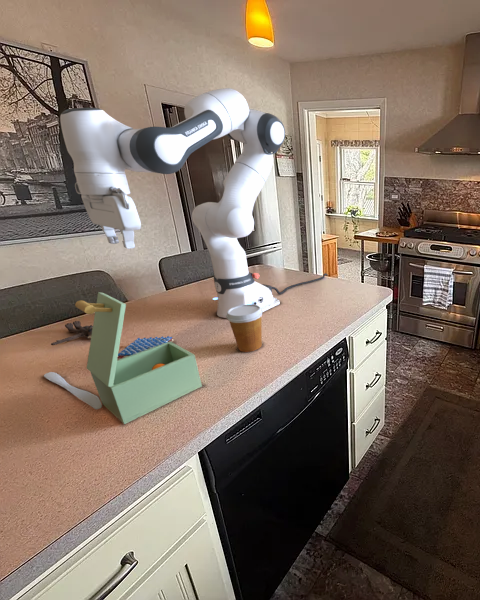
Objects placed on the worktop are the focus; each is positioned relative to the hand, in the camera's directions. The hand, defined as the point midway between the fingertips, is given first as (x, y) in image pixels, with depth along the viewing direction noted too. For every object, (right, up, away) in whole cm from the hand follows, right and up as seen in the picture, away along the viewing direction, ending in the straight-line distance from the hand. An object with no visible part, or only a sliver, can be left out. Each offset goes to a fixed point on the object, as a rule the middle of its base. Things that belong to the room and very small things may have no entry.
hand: (121, 245), depth 80 cm
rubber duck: (+14, -34, -3) cm, 37 cm away
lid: (+10, -21, -15) cm, 28 cm away
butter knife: (-8, -35, -4) cm, 36 cm away
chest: (+12, -35, -5) cm, 38 cm away
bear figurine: (-30, -25, +22) cm, 45 cm away
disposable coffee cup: (+24, -28, +16) cm, 40 cm away
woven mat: (-4, -28, +13) cm, 32 cm away
